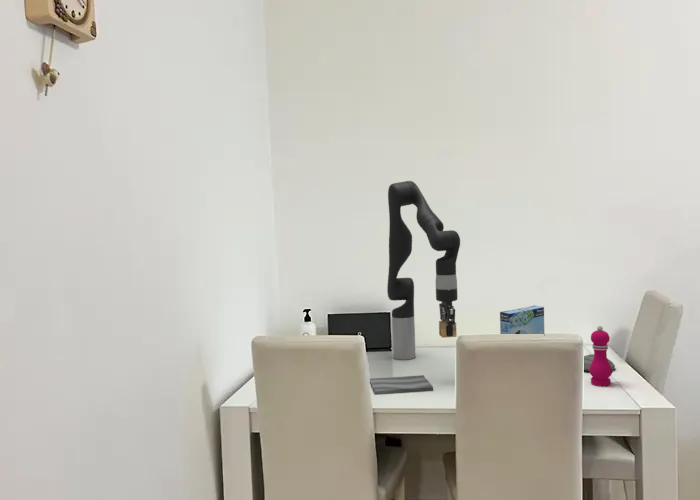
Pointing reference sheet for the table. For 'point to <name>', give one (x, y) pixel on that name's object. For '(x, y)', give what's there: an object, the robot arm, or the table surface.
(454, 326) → the oak cube
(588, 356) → the grey round bowl
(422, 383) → the slate board
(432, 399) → the table surface
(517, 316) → the gum box
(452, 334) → the robot arm
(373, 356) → the table surface
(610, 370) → the pepper mill
